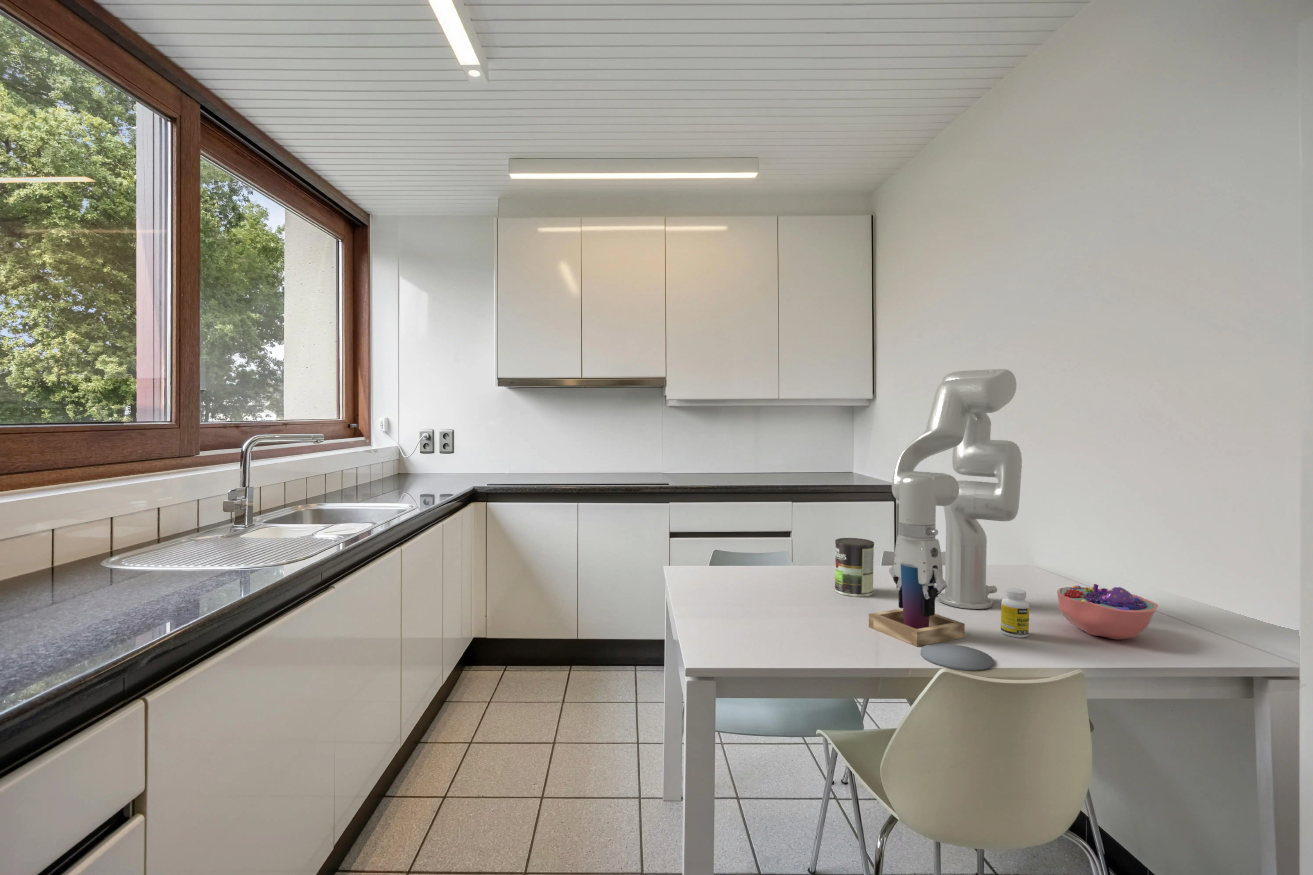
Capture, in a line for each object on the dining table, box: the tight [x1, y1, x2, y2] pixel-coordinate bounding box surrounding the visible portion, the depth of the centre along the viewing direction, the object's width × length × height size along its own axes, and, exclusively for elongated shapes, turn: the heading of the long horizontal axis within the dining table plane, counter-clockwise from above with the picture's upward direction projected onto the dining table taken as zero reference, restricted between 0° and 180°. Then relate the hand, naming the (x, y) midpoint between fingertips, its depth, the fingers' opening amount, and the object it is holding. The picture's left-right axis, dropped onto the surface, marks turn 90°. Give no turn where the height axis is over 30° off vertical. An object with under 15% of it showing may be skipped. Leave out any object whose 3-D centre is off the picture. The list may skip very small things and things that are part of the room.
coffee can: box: [834, 537, 875, 598], centre depth 176 cm, size 10×10×14 cm
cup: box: [900, 563, 931, 629], centre depth 143 cm, size 7×7×15 cm
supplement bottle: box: [1000, 587, 1030, 639], centre depth 142 cm, size 5×5×10 cm
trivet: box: [920, 643, 994, 672], centre depth 127 cm, size 13×13×1 cm
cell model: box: [1056, 583, 1159, 641], centre depth 142 cm, size 17×20×11 cm
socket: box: [868, 608, 966, 647], centre depth 143 cm, size 14×14×3 cm
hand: (916, 610), depth 143 cm, fingers closed on cup, 6 cm apart
